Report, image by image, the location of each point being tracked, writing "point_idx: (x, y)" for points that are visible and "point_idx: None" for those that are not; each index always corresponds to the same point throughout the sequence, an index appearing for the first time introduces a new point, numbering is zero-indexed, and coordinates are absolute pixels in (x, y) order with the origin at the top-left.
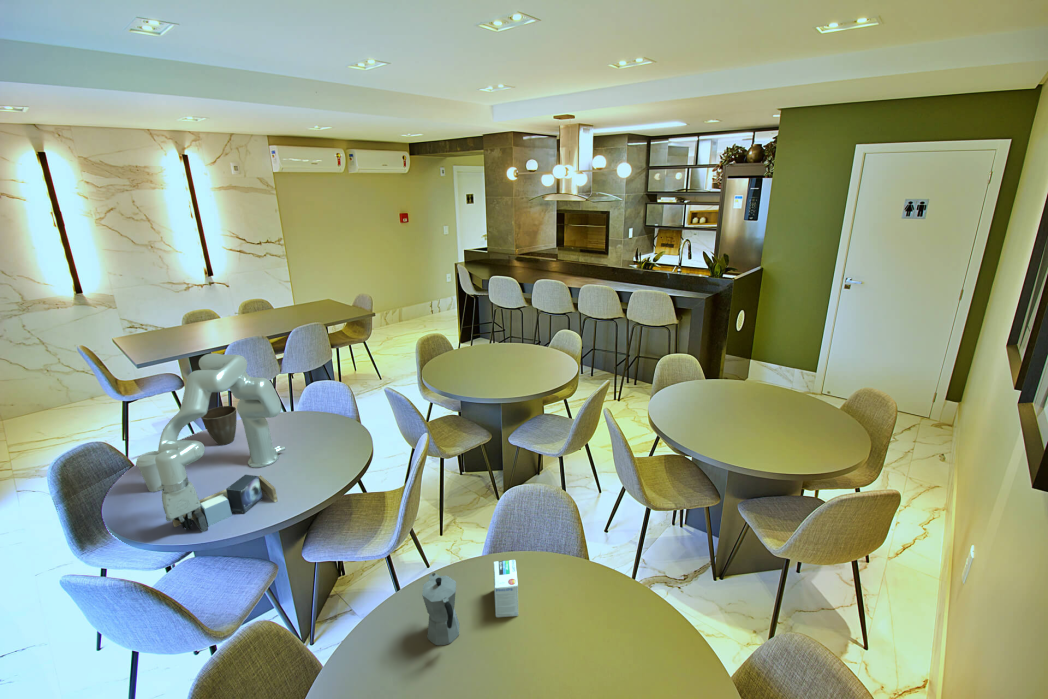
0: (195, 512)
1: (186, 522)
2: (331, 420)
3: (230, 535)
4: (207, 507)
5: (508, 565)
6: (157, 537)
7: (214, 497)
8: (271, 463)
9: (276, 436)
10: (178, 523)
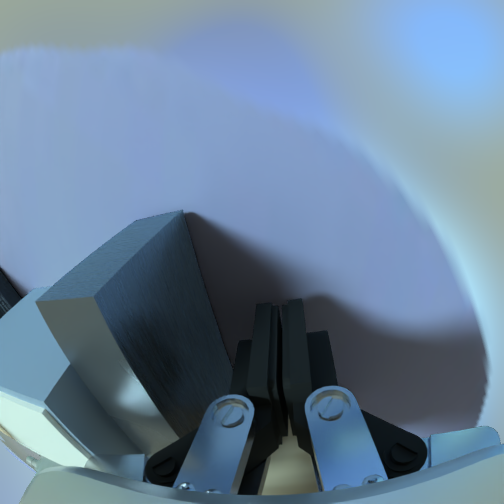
0: (167, 438)
1: (287, 365)
2: (12, 450)
3: (31, 55)
4: (27, 405)
5: None
6: (447, 351)
7: None
8: None
9: None
10: None
